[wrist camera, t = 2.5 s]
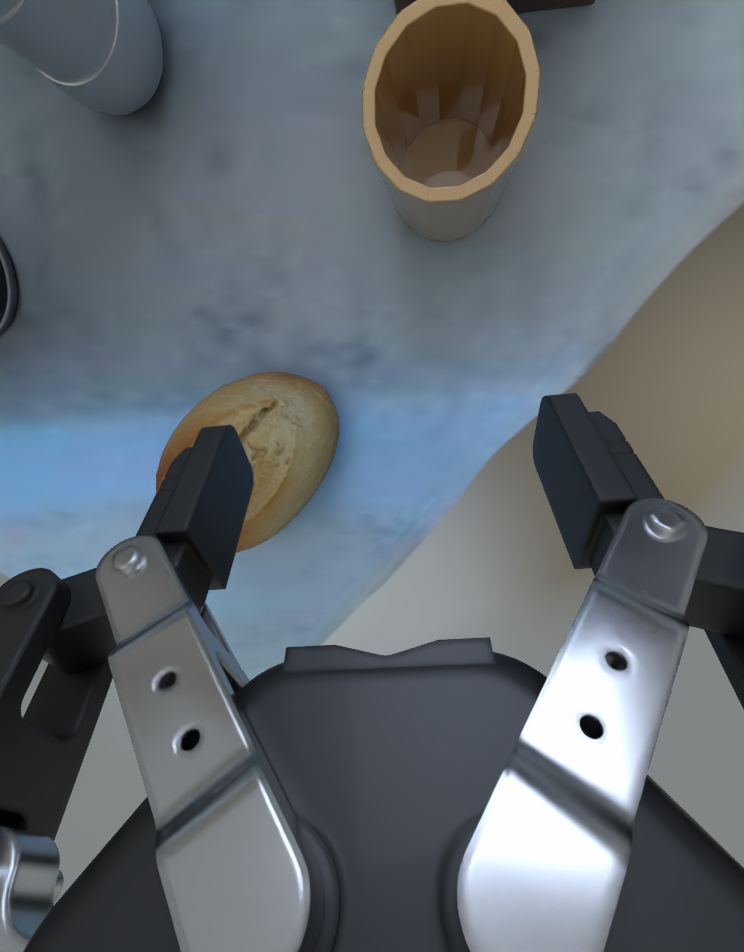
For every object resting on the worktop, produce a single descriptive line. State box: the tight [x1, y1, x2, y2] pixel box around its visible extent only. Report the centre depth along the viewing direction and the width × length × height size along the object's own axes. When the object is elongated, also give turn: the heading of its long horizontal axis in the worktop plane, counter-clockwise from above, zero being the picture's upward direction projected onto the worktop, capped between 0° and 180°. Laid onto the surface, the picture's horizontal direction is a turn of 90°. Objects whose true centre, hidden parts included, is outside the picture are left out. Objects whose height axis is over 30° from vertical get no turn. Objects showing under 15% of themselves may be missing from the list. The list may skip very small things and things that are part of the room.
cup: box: [362, 0, 540, 242], centre depth 21 cm, size 6×6×10 cm
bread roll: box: [156, 372, 339, 552], centre depth 29 cm, size 10×15×8 cm, turn 140°
